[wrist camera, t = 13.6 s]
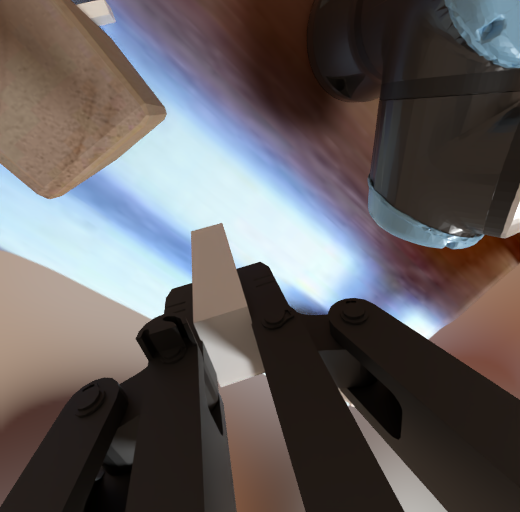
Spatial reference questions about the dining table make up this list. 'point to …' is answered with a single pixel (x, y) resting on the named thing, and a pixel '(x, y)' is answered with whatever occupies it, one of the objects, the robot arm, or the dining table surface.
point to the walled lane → (98, 12)
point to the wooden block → (65, 96)
